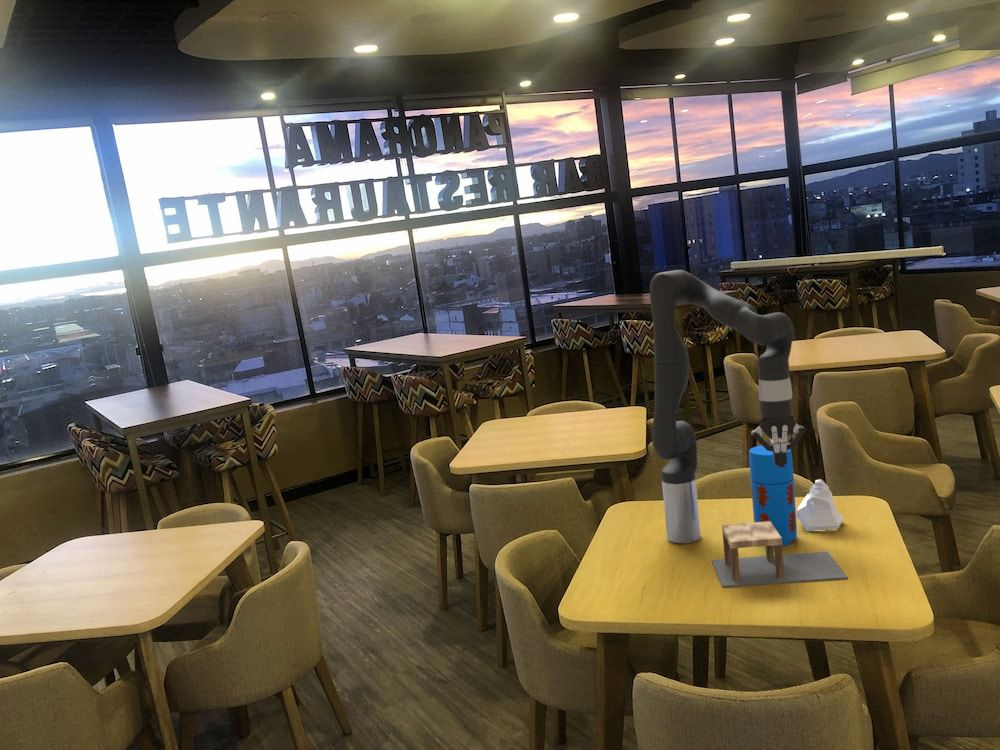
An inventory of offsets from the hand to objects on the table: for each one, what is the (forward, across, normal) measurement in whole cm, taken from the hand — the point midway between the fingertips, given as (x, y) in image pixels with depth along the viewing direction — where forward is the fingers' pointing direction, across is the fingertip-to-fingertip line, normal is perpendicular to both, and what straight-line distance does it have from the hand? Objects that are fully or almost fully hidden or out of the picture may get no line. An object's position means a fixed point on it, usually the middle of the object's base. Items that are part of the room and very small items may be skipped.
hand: (780, 466), depth 195 cm
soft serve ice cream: (+26, -16, -29) cm, 42 cm away
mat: (+26, +3, 0) cm, 26 cm away
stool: (+21, +2, 0) cm, 21 cm away
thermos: (+26, -2, -20) cm, 33 cm away
